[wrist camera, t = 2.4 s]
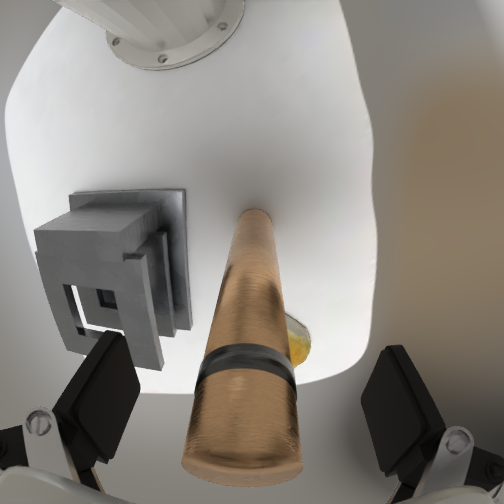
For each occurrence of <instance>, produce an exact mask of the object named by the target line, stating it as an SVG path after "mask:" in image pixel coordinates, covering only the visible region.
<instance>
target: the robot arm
mask: <svg viewBox="0 0 504 504" xmlns="http://www.w3.org/2000/svg"><path fill="white" fill-rule="evenodd" d="M51 1H54V2H56V3H58V4H60V5H62V6H64V7H66V8H68V9H70V10H72V11H74V12H75V13H77V14H79V15H81V16H83V17H85V18H87V19H88V20H90V21H92V22H94V23H95V24H97V25H99V26H101V27H102V28H104V29H106V36H107V42H108V44H109V47H110V49H111V50H112V52H113V53H114V54H115V55H116V56H117V57H118V58H119V59H121V60H122V61H124V62H125V63H127V64H130V65H132V66H134V67H138V68H141V69H148V70H163V69H171V68H175V67H180V66H183V65H186V64H189V63H191V62H194V61H197V60H198V59H200V58H202V57H204V56H206V55H208V54H210V53H211V52H212V51H214V50H215V49H216V48H218V47H219V46H221V45H222V44H223V43H224V42H225V41H226V40H227V39H228V38H229V37H230V36H231V34H232V33H233V32H234V30H235V29H236V28H237V26H238V24H239V22H240V20H241V18H242V15H243V11H244V0H51ZM223 28H226V30H223V31H222V29H223ZM165 59H167V61H166V62H165V63H163V62H164V60H165ZM139 393H140V383H139V380H138V377H137V374H136V370H135V367H134V364H133V361H132V357H131V354H130V351H129V347H128V344H127V340H126V338H125V337H123V336H122V334H121V333H120V332H115V331H110V330H106V331H105V332H104V333H103V334H102V336H101V337H100V338H99V340H98V341H97V343H96V344H95V345H94V347H93V348H92V350H91V351H90V353H89V354H88V355H87V357H86V358H85V360H84V361H83V363H82V364H81V366H80V367H79V369H78V370H77V372H76V373H75V375H74V376H73V378H72V379H71V381H70V382H69V384H68V385H67V387H66V389H65V390H64V392H63V393H62V395H61V396H60V398H59V399H58V401H57V403H56V404H55V406H54V408H53V409H52V411H51V410H49V409H48V408H45V407H35V408H32V409H31V410H29V411H28V412H27V413H26V414H25V416H24V418H23V424H22V425H19V426H15V427H12V428H8V429H4V430H0V504H135V503H132V502H128V501H125V500H122V499H119V498H116V497H113V496H110V495H108V494H106V493H105V491H104V489H103V487H102V485H101V482H100V480H99V478H98V476H97V473H96V471H95V469H94V465H95V462H96V460H97V461H100V462H102V463H105V464H108V461H109V459H112V458H113V457H114V455H115V452H116V450H117V448H118V445H119V442H120V440H121V437H122V434H123V432H124V429H125V427H126V424H127V422H128V420H129V417H130V414H131V412H132V410H133V407H134V405H135V402H136V400H137V398H138V395H139ZM361 405H362V408H363V411H364V414H365V418H366V421H367V424H368V428H369V431H370V434H371V438H372V441H373V445H374V449H375V452H376V456H377V459H378V463H379V467H380V470H381V471H382V472H385V476H386V477H389V476H393V475H396V474H397V475H398V478H399V482H398V483H397V485H396V487H395V489H394V491H393V493H392V494H391V496H390V498H389V500H388V501H387V503H386V504H504V459H503V458H502V457H501V456H499V455H496V454H493V453H490V452H488V451H485V450H482V449H480V448H477V447H475V446H474V441H473V437H472V435H471V434H470V432H469V431H468V430H467V429H465V428H463V427H459V426H455V427H451V428H449V429H446V427H445V423H444V421H443V419H442V417H441V415H440V413H439V411H438V409H437V407H436V405H435V403H434V401H433V399H432V397H431V395H430V393H429V391H428V390H427V388H426V386H425V384H424V382H423V380H422V379H421V377H420V375H419V373H418V371H417V370H416V368H415V366H414V364H413V362H412V361H411V359H410V357H409V356H408V354H407V352H406V350H405V349H404V347H403V346H402V345H391V346H387V347H386V348H385V349H384V350H382V351H381V353H380V355H379V358H378V360H377V363H376V365H375V367H374V370H373V372H372V374H371V376H370V379H369V381H368V383H367V385H366V387H365V389H364V391H363V393H362V396H361Z"/></svg>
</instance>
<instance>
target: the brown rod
mask: <svg viewBox="0 0 504 504" xmlns="http://www.w3.org/2000/svg"><path fill="white" fill-rule="evenodd" d="M194 394H195V399H194V403H193V408H192V413H191V417H190V422H189V427H188V431H187V436H186V441H185V446H184V451H183V456H182V461H181V464H182V466H183V468H184V469H185V470H186V471H187V472H189V473H190V474H192V475H194V476H196V477H198V478H200V479H203V480H206V481H209V482H212V483H216V484H221V485H226V486H235V487H262V486H270V485H275V484H280V483H283V482H286V481H289V480H291V479H293V478H295V477H297V476H298V475H299V474H300V473H301V472H302V470H303V465H302V454H301V444H300V435H299V425H298V415H297V406H296V401H297V391H296V383H295V375H294V369H293V366H292V363H291V355H290V347H289V340H288V332H287V324H286V317H285V310H284V302H283V295H282V288H281V281H280V274H279V267H278V261H277V254H276V247H275V241H274V234H273V228H272V222H271V219H270V217H269V216H268V215H267V214H266V213H265V212H264V211H262V210H259V209H250V210H247V211H245V212H244V213H242V214H241V216H240V217H239V219H238V221H237V225H236V229H235V233H234V237H233V241H232V244H231V248H230V252H229V256H228V260H227V264H226V268H225V272H224V276H223V280H222V284H221V288H220V292H219V296H218V300H217V304H216V308H215V312H214V317H213V321H212V325H211V329H210V333H209V337H208V342H207V346H206V350H205V355H204V359H203V361H202V363H201V365H200V369H199V374H198V378H197V382H196V387H195V392H194Z"/></svg>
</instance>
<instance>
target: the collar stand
mask: <svg viewBox="0 0 504 504" xmlns="http://www.w3.org/2000/svg"><path fill="white" fill-rule="evenodd" d="M69 203H70V212H68V213H66V214H63V215H61V216H59V217H57V218H55V219H53V220H52V221H50V222H48V223H46V224H44V225H42V226H40V227H38V228H36V229H34V235H35V240H36V245H37V251H36V252H35V255H36V259H37V263H38V267H39V271H40V275H41V278H42V282H43V285H44V289H45V292H46V295H47V298H48V301H49V304H50V307H51V310H52V313H53V316H54V319H55V321H56V324H57V327H58V329H59V332H60V334H61V337H62V339H63V342H64V344H65V346H66V349H67V350H68V351H72V352H75V353H79V354H83V355H86V356H87V355H88V354H89V353H90V351H91V350H92V348H93V347H94V345H95V344H96V343H97V341H98V340H99V338H100V337H101V336H102V334H103V333H104V332H101V331H96V330H91V329H86V328H84V327H83V324H82V321H81V318H80V315H79V312H78V309H77V305H76V302H75V298H74V295H73V291H72V288H71V285H75V286H76V287H77V290H78V294H79V298H80V301H81V305H82V308H83V311H84V315H85V318H86V321H87V324H92V325H97V326H102V327H107V328H113V329H119V330H123V331H124V335H125V336H123V337H125V338H126V340H127V344H128V347H129V351H130V354H131V357H132V361H133V364H134V366H135V367H140V368H146V369H151V370H157V371H162V368H163V365H164V359H163V355H162V350H161V345H160V340H159V336H166V337H174V336H175V334H176V331H177V330H176V329H181V330H191V327H192V315H191V304H190V291H189V277H188V260H187V240H186V210H185V190H121V191H98V192H81V193H73V194H70V195H69Z"/></svg>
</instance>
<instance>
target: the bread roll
mask: <svg viewBox="0 0 504 504" xmlns="http://www.w3.org/2000/svg"><path fill="white" fill-rule="evenodd" d="M285 317H286V324H287V332H288V340H289V347H290V355H291V363H292V366H293V369H294V368H295V367H296V366H297V365H299V364H301V363H303V362H304V361H305V360H306V358H307V356H308V354H309V352H310V348H311V341H310V338H309V335H308V332H307V330H306V329H305V328H304V327H303V326H301V325H300V324H299V323H298V322H297V321H296V320H294V319H292V318H291V317H289V316H287V315H286V314H285Z"/></svg>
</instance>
